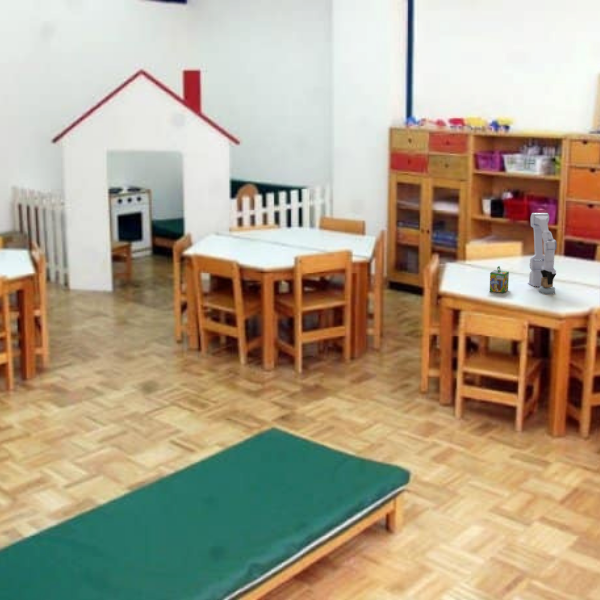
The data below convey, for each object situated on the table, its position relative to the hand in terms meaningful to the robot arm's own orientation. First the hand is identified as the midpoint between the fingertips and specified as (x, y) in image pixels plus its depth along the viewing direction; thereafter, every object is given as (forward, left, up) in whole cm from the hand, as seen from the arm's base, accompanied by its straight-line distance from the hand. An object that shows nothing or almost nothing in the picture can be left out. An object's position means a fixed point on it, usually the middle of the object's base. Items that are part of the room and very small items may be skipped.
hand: (547, 283), depth 518 cm
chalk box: (-10, -26, -6) cm, 28 cm away
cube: (0, 0, -2) cm, 2 cm away
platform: (0, 0, -6) cm, 6 cm away
